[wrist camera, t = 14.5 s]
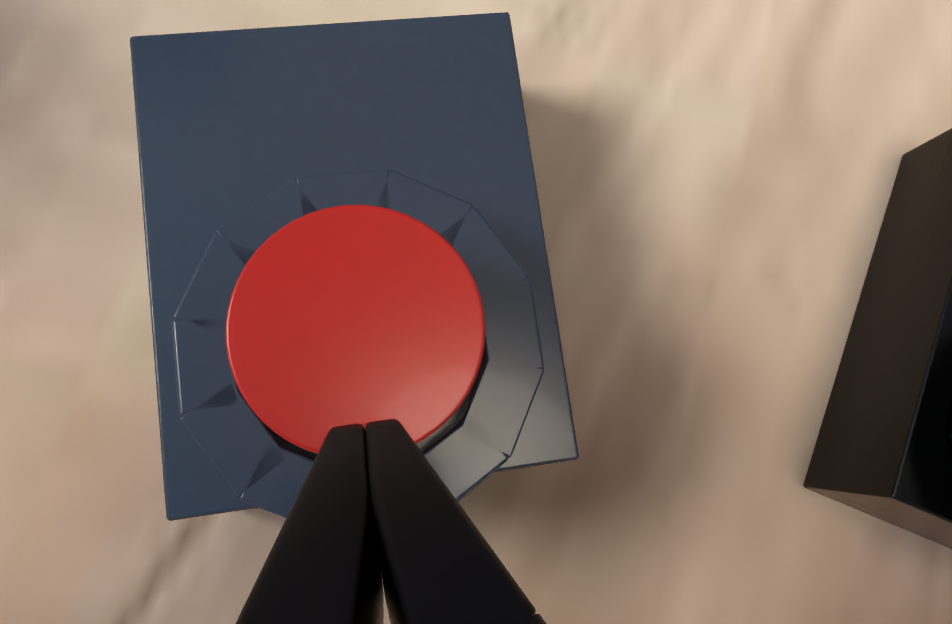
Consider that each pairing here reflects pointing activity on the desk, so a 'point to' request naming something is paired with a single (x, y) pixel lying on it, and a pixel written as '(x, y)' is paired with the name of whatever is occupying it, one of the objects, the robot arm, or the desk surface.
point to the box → (328, 185)
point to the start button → (354, 325)
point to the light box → (899, 364)
